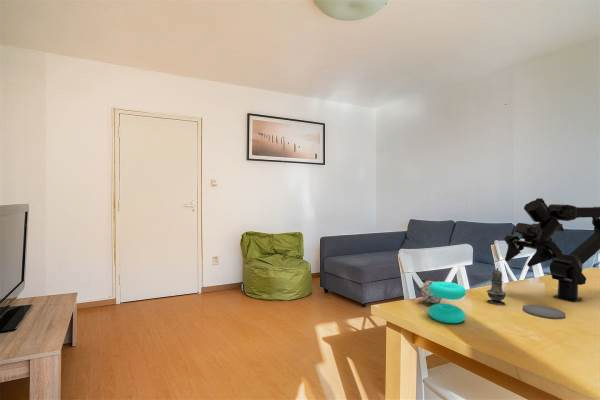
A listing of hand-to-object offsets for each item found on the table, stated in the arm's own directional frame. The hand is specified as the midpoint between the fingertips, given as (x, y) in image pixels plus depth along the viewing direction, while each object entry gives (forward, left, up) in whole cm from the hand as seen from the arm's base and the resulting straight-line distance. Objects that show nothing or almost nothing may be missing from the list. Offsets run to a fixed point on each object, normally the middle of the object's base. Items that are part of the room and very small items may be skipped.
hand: (516, 263), depth 119 cm
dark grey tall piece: (+7, -3, -14) cm, 16 cm away
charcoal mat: (+4, +10, -13) cm, 18 cm away
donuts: (+36, -2, -14) cm, 39 cm away
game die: (+28, -13, -14) cm, 34 cm away
